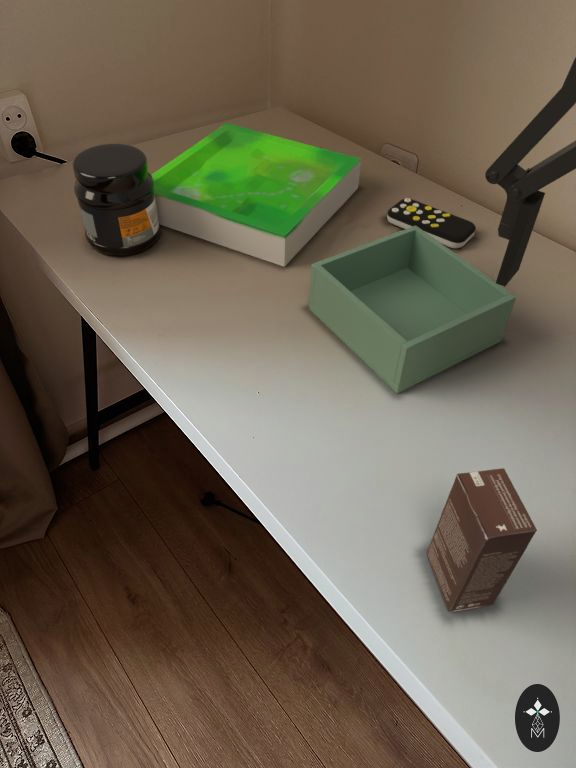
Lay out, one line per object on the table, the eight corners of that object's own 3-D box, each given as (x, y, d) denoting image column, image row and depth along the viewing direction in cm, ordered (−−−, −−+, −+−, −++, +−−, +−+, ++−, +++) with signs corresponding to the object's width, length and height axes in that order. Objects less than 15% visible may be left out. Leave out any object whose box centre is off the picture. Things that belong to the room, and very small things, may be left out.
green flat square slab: (227, 151, 111) (226, 122, 108) (358, 188, 103) (361, 159, 100) (138, 217, 96) (133, 186, 92) (284, 266, 88) (285, 235, 84)
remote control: (458, 252, 91) (461, 240, 90) (382, 222, 96) (384, 210, 95) (477, 234, 95) (480, 222, 93) (403, 205, 100) (405, 194, 99)
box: (497, 605, 55) (540, 531, 46) (447, 613, 54) (482, 540, 45) (470, 543, 59) (505, 464, 50) (424, 550, 58) (451, 472, 49)
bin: (500, 341, 78) (516, 296, 73) (397, 394, 72) (406, 348, 67) (407, 269, 88) (415, 225, 83) (308, 308, 82) (311, 263, 77)
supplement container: (175, 241, 91) (165, 163, 83) (109, 268, 87) (92, 188, 78) (137, 210, 97) (124, 134, 88) (73, 234, 92) (53, 155, 84)
